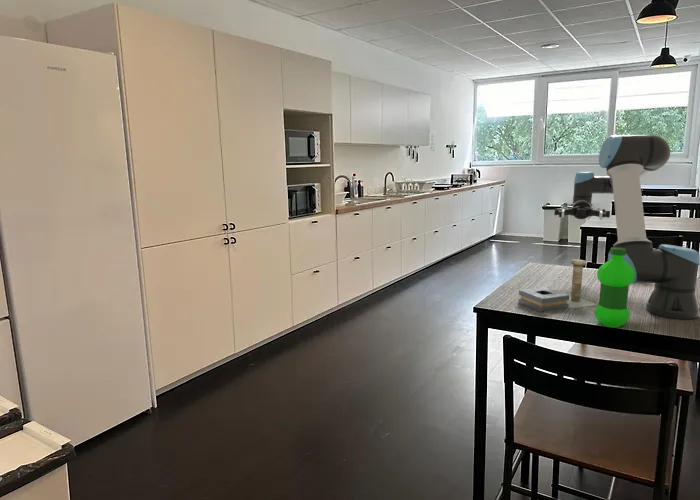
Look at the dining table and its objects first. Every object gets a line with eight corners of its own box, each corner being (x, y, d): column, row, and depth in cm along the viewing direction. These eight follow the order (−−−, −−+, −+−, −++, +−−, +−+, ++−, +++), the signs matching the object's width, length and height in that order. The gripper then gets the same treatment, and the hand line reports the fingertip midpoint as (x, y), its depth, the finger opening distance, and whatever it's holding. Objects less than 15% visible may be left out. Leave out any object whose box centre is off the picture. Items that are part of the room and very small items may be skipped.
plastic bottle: (617, 319, 161) (625, 245, 156) (635, 330, 150) (644, 251, 146) (587, 319, 161) (594, 245, 156) (602, 330, 151) (610, 251, 146)
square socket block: (568, 308, 172) (569, 295, 171) (541, 312, 168) (542, 298, 167) (544, 299, 183) (545, 286, 182) (518, 303, 179) (519, 290, 178)
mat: (598, 305, 176) (598, 304, 176) (572, 309, 172) (572, 308, 172) (569, 295, 189) (569, 294, 189) (544, 298, 185) (544, 297, 185)
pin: (585, 301, 179) (589, 261, 176) (575, 303, 178) (578, 262, 175) (575, 298, 184) (578, 259, 181) (564, 299, 182) (568, 260, 179)
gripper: (613, 219, 203) (617, 226, 184) (549, 216, 213) (546, 223, 195) (615, 201, 202) (619, 206, 183) (550, 199, 212) (548, 204, 193)
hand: (581, 215), depth 189 cm, fingers open, 13 cm apart
